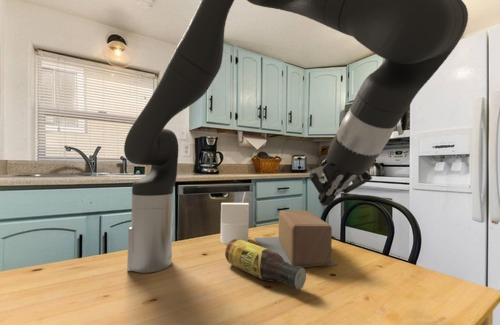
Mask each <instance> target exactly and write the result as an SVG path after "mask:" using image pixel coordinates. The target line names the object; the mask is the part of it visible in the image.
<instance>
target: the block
mask: <svg viewBox="0 0 500 325" xmlns="http://www.w3.org/2000/svg"><path fill="white" fill-rule="evenodd" d="M332 233H333V231H332V225H330V224H329V223H327V222H326V221H324V220H323V219H321V218H319V217H318V216H316V215H315V214H313V213H312V212H310V211H308V210H280V211H279V212H278V237H279V241H280V243H281V245H282V247H283V248H284V250H285V252H286V254H287V256H288V258H289V259H290V261H291V263H292V264H293V265H329V266H331V265H330V264H331V260H332V240H333V238H332V237H333V236H332V235H333V234H332Z"/></svg>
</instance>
